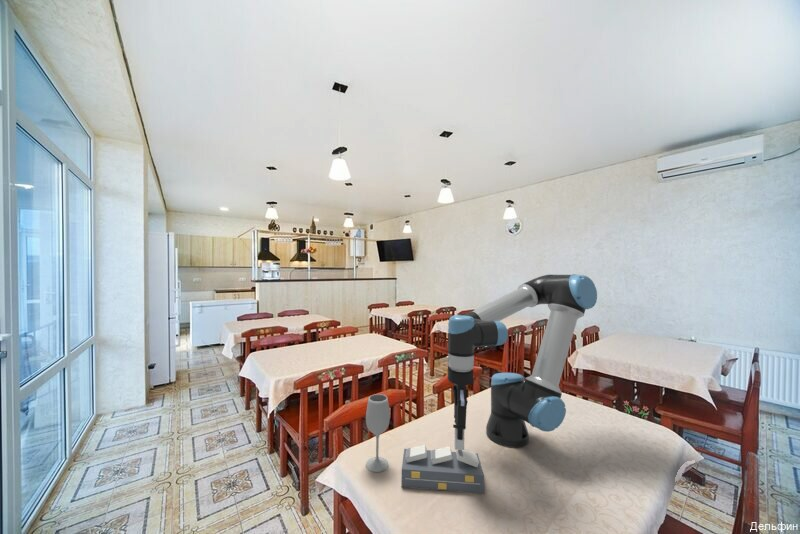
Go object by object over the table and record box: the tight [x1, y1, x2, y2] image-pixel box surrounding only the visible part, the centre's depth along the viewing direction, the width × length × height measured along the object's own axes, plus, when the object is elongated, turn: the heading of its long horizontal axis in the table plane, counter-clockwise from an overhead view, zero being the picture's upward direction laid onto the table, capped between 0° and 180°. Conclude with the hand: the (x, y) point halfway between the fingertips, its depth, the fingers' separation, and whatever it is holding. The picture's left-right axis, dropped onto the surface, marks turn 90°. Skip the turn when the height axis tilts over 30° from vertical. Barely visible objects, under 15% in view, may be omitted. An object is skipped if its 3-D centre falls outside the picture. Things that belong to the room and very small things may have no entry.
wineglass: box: [365, 393, 391, 473], centre depth 94 cm, size 8×8×21 cm
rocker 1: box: [406, 444, 428, 463], centre depth 89 cm, size 6×4×2 cm
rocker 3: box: [455, 448, 479, 467], centre depth 87 cm, size 6×4×2 cm
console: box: [400, 448, 485, 494], centre depth 88 cm, size 23×10×5 cm, turn 85°
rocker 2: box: [431, 445, 453, 464], centre depth 88 cm, size 6×4×2 cm
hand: (459, 448), depth 88 cm, fingers closed
